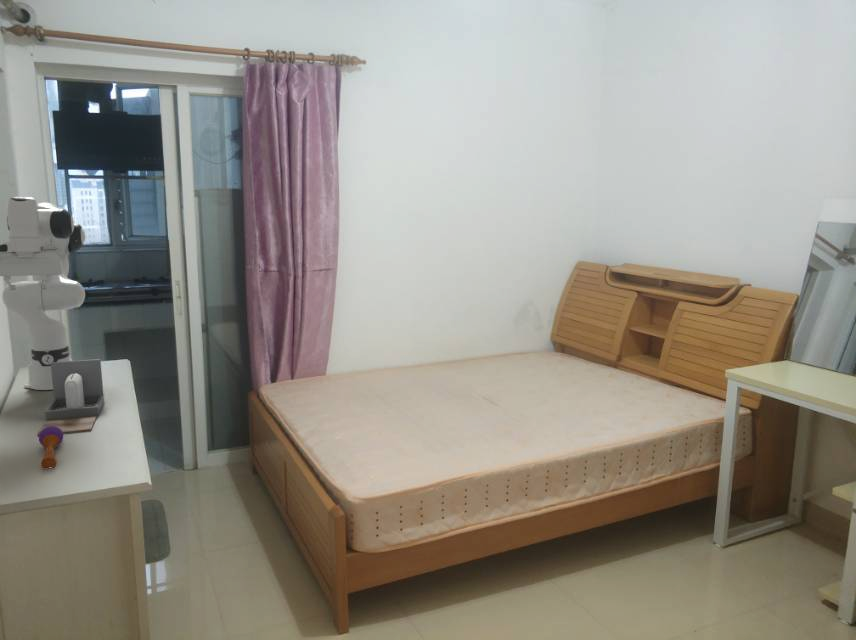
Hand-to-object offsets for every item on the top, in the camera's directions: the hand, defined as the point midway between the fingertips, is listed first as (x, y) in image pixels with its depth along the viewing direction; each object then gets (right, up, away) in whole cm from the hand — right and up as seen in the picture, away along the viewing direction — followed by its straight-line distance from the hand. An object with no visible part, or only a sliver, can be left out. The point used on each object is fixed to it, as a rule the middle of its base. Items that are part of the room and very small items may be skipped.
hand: (29, 289), depth 209 cm
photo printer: (+15, -40, 0) cm, 43 cm away
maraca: (+28, -47, -35) cm, 65 cm away
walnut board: (+20, -42, -14) cm, 49 cm away
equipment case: (+15, -40, 0) cm, 42 cm away
